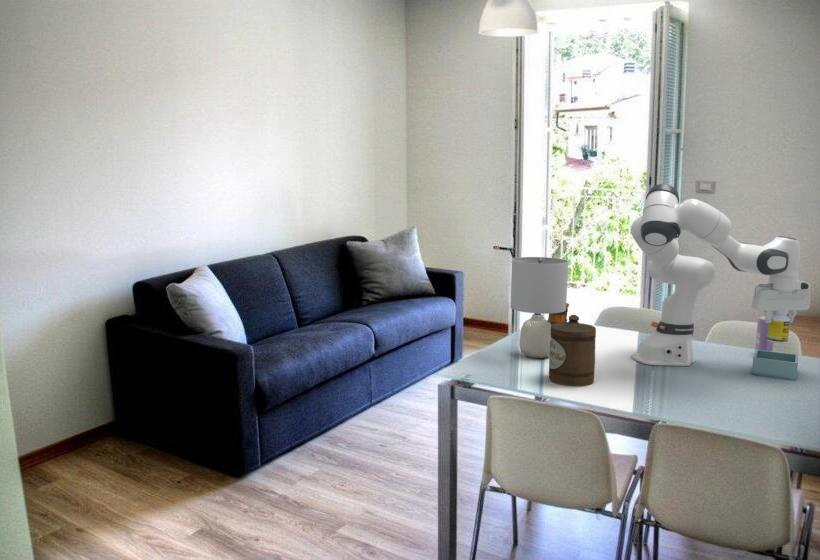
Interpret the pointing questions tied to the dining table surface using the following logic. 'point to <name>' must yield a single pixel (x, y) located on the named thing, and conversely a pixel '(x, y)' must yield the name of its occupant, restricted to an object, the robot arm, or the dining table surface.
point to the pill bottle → (779, 327)
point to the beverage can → (763, 336)
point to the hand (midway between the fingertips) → (779, 322)
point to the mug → (558, 316)
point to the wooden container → (572, 353)
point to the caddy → (775, 364)
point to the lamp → (538, 299)
